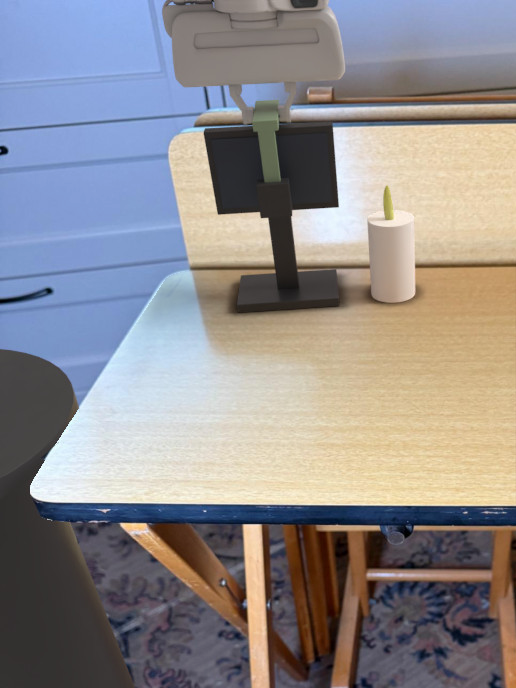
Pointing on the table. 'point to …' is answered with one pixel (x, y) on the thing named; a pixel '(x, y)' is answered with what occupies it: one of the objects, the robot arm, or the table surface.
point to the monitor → (306, 193)
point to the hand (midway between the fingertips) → (267, 123)
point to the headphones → (270, 163)
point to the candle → (391, 253)
